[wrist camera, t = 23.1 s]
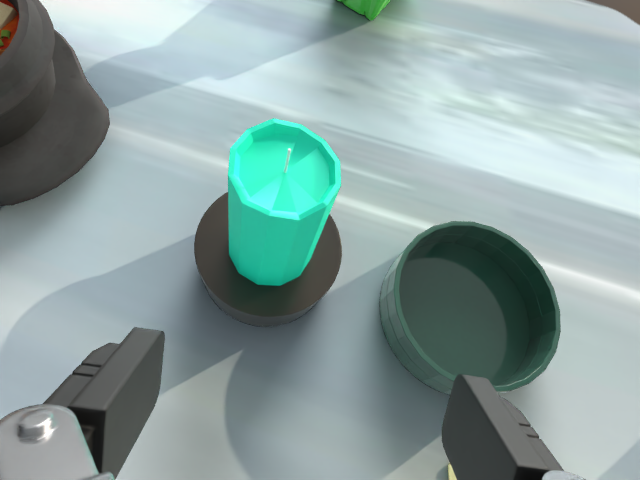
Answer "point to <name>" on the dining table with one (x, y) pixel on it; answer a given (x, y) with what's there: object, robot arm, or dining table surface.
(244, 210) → the candle
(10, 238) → the dining table surface
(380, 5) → the fruit basket
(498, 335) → the tin
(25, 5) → the casserole
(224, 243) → the stand
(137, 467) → the dining table surface
